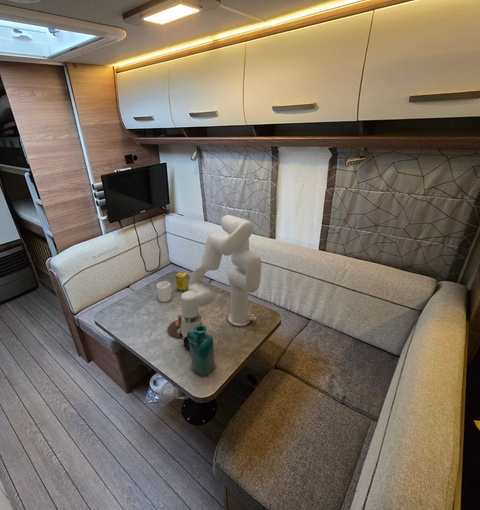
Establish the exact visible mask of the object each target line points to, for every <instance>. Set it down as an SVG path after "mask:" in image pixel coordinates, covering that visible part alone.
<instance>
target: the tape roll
mask: <svg viewBox="0 0 480 510" xmlns="http://www.w3.org/2000/svg"><path fill="white" fill-rule="evenodd" d="M185 348H186V350H188V351H189V352H190V344H189V340H188V337H187V338H186V346H185Z"/></svg>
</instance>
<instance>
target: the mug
mask: <svg viewBox="0 0 480 510" xmlns="http://www.w3.org/2000/svg"><path fill="white" fill-rule="evenodd" d="M155 287H156V294H157V298H158V301H159V302H161V303H167V302H169V301H171V299H172V291H171V290H172V284H171V282H169V281H160V282H158V283H156V285H155Z"/></svg>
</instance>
